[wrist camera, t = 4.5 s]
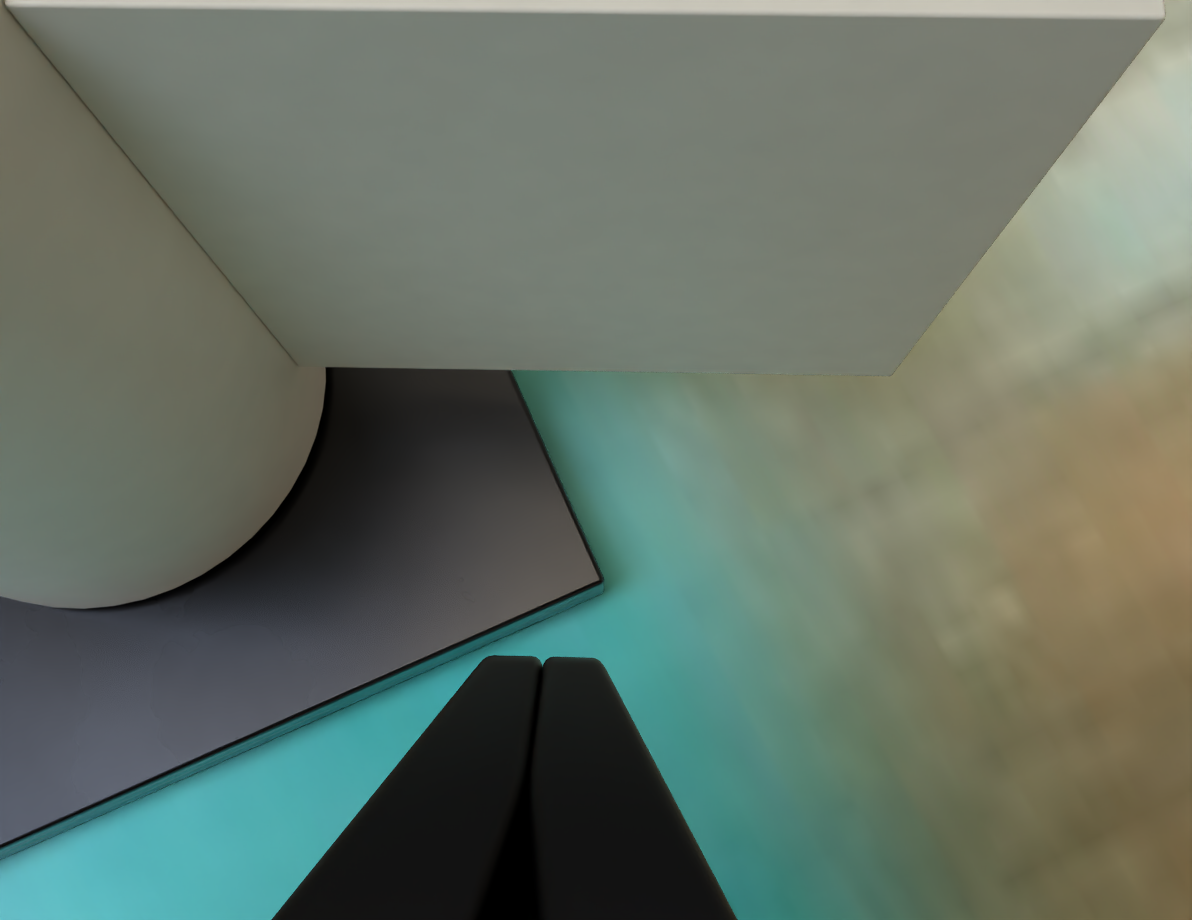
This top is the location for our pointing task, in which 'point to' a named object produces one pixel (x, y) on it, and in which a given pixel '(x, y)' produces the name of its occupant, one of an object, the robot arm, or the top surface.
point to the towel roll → (468, 219)
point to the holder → (298, 601)
